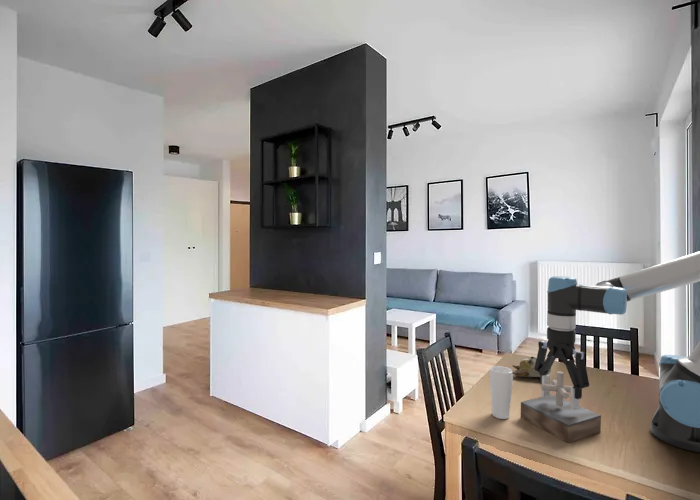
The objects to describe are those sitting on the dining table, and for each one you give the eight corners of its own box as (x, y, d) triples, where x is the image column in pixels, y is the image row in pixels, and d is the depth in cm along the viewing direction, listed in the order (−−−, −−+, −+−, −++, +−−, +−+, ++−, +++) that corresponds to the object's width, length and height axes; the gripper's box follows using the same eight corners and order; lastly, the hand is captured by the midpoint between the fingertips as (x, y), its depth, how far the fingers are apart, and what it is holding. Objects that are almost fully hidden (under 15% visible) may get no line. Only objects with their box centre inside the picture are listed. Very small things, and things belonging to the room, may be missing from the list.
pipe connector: (584, 414, 109) (585, 379, 108) (546, 410, 111) (547, 377, 110) (571, 399, 118) (572, 367, 118) (536, 396, 120) (537, 365, 120)
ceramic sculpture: (551, 361, 146) (509, 358, 152) (552, 384, 145) (510, 379, 152) (551, 354, 155) (511, 351, 162) (552, 375, 155) (512, 371, 162)
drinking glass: (485, 415, 121) (485, 368, 120) (496, 409, 125) (496, 364, 124) (505, 423, 115) (506, 374, 115) (516, 416, 120) (516, 369, 119)
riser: (600, 432, 110) (601, 415, 110) (568, 442, 104) (568, 425, 104) (551, 409, 125) (551, 394, 125) (520, 417, 119) (520, 401, 119)
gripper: (606, 335, 105) (604, 414, 106) (538, 319, 125) (537, 386, 126) (588, 338, 102) (586, 420, 103) (522, 321, 122) (521, 390, 123)
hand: (559, 401), depth 114 cm, fingers closed on pipe connector, 9 cm apart
